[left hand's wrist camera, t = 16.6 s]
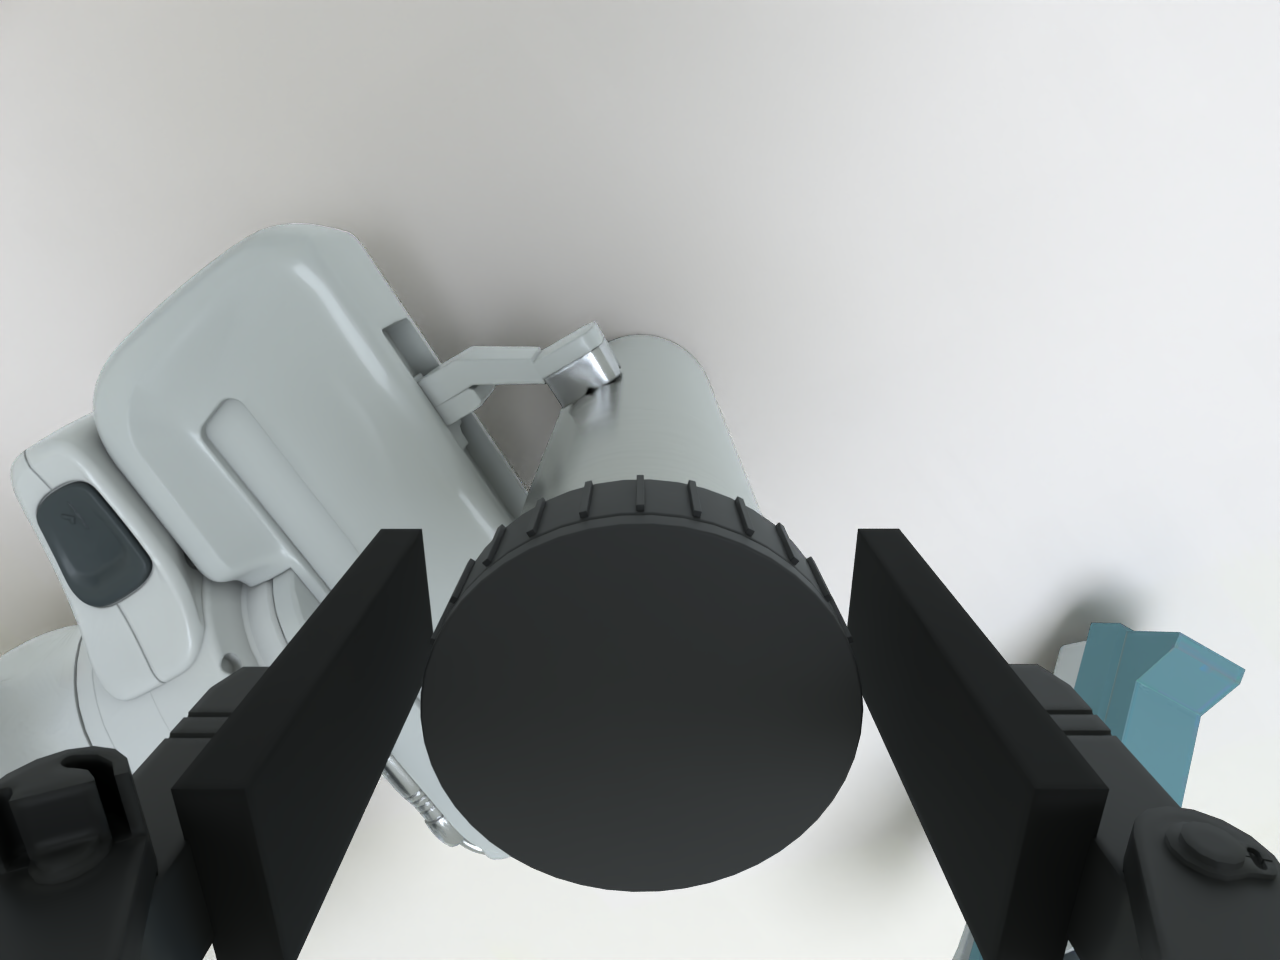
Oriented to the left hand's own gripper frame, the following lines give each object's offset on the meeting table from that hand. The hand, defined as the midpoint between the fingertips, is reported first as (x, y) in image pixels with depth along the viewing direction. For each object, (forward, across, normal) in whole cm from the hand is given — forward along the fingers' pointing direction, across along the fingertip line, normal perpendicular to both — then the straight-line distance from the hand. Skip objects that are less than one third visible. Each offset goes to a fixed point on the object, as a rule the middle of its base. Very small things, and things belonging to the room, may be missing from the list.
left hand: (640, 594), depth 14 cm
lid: (-3, 0, 0) cm, 3 cm away
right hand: (+8, -1, 0) cm, 8 cm away
